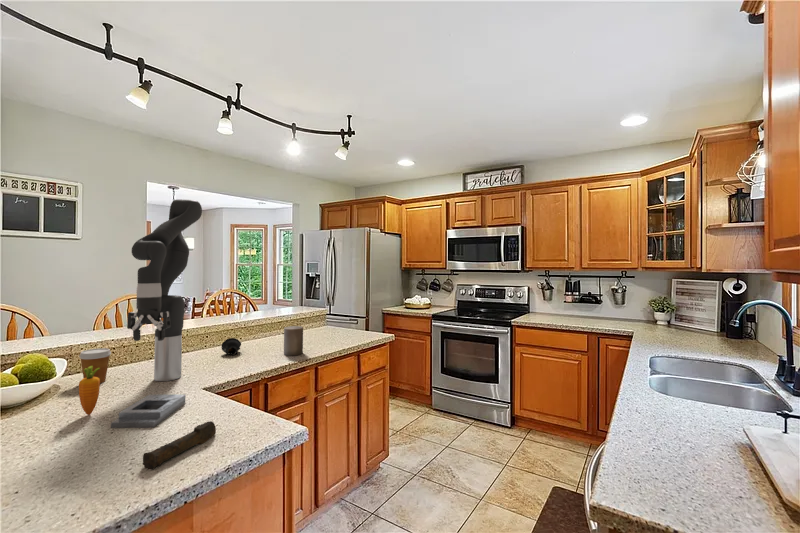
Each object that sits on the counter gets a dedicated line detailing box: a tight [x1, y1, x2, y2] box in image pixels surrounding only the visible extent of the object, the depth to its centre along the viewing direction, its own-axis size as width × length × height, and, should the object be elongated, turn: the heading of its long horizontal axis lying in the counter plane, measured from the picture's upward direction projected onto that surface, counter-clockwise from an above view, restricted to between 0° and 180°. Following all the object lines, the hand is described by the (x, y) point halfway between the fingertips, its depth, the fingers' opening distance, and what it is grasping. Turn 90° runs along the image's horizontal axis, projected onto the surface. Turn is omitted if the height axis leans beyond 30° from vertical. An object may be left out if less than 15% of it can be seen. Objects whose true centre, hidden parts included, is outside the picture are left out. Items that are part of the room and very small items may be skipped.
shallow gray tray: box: [110, 393, 186, 429], centre depth 114 cm, size 18×12×3 cm, turn 5°
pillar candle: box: [283, 325, 304, 357], centre depth 193 cm, size 10×10×15 cm
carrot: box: [78, 366, 101, 416], centre depth 112 cm, size 5×5×15 cm
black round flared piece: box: [221, 337, 242, 356], centre depth 192 cm, size 9×11×18 cm
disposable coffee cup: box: [78, 347, 112, 384], centre depth 142 cm, size 10×10×12 cm
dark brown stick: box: [142, 420, 217, 471], centre depth 93 cm, size 19×4×5 cm, turn 157°
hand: (149, 340), depth 134 cm, fingers open, 8 cm apart
